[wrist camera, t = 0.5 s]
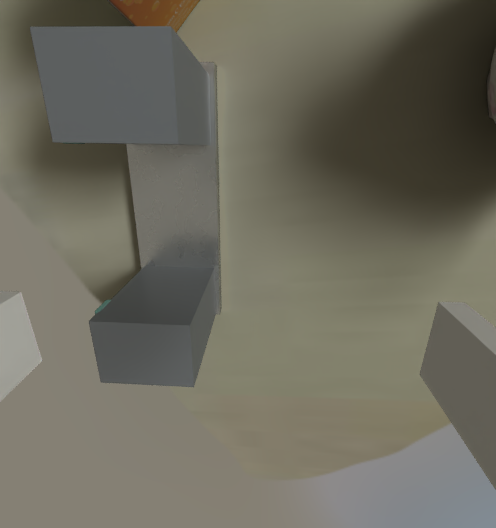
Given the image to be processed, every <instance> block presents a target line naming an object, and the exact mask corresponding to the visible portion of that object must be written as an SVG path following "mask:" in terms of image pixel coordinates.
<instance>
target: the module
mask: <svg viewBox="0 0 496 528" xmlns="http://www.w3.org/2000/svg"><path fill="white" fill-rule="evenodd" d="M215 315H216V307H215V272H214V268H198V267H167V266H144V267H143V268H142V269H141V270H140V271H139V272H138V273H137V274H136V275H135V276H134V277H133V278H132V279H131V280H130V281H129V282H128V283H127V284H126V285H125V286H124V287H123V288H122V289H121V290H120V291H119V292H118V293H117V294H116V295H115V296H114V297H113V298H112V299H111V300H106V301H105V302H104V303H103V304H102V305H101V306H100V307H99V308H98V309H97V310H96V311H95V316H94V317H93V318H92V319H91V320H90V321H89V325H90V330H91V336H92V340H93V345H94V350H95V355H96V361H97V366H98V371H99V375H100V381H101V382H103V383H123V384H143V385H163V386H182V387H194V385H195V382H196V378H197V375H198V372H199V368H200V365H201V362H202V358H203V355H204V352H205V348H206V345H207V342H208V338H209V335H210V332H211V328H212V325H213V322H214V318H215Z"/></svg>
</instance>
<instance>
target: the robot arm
mask: <svg viewBox="0 0 496 528" xmlns="http://www.w3.org/2000/svg"><path fill="white" fill-rule="evenodd" d="M41 361H42V358H41V354H40V351H39V348H38V345H37V342H36V339H35V335H34V332H33V329H32V326H31V322H30V319H29V316H28V312H27V309H26V306H25V303H24V300H23V296H22V293H21V292H16V291H0V402H1V400H3V399H4V398H5V397H6V396H7V395H8V394H9V393H10V392H11V391H12V390H13V389H14V388H15V387H16V386H17V385H18V384H19V383H20V382H21V381H22V380H23V379H24V378H25V377H26V376H27V375H28V374H29V373H30V372H31V371H32V370H33V369H34V368H35V367H36V366H37V365H38V364H39V363H40V362H41ZM420 376H421V377H422V379H423V380H424V382H425V383H426V385H427V386H428V388H429V389H430V391H431V392H432V394H433V396H434V397H435V399H436V400H437V402H438V403H439V405H440V406H441V408H442V409H443V411H444V412H445V414H446V415H447V417H448V418H449V420H450V421H451V423H452V424H453V426H454V427H455V429H456V430H457V432H458V433H459V435H460V436H461V438H462V439H463V441H464V442H465V444H466V446H467V447H468V449H469V450H470V451H471V453H472V455H473V456H474V458H475V459H476V461H477V462H478V464H479V465H480V467H481V468H482V469H483V471H484V473H485V474H486V476H487V477H488V479H489V480H490V482H491V483H492V485H493V486H494V488H495V489H496V327H494V326H493V325H492V324H491V323H489V322H488V321H487V320H486V319H485V318H483V317H482V316H481V315H480V314H478V313H477V312H476V311H475V310H473V309H472V308H471V307H470V306H468V305H467V304H466V303H465V302H438V306H437V309H436V313H435V317H434V321H433V325H432V329H431V332H430V336H429V340H428V344H427V348H426V352H425V355H424V359H423V363H422V367H421V371H420Z"/></svg>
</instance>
